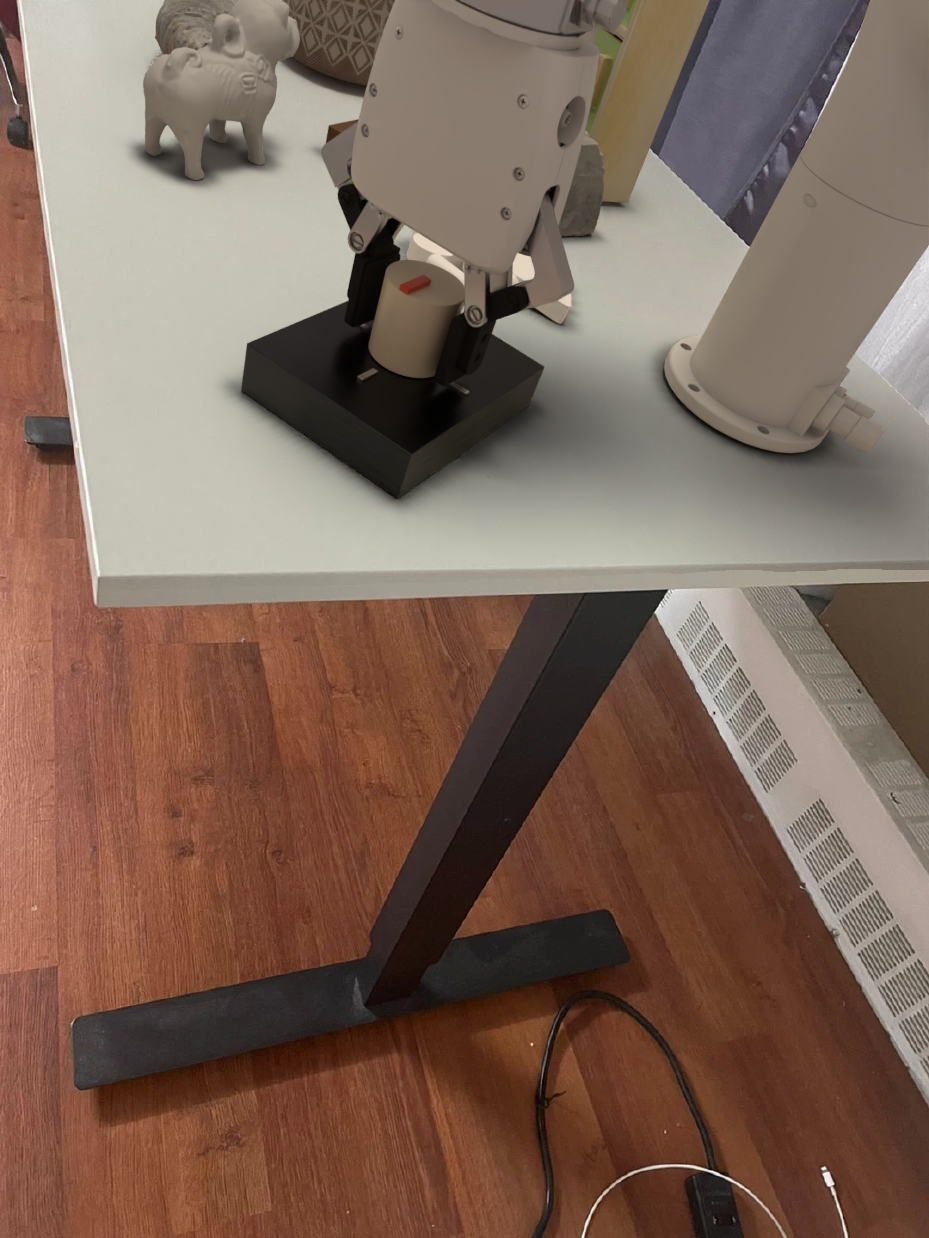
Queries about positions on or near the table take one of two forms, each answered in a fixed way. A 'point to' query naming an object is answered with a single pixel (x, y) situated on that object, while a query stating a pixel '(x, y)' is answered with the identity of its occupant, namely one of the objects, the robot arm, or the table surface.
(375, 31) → the planter
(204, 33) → the seashell
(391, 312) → the knob
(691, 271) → the table surface
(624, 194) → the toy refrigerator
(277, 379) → the panel
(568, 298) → the white abstract figurine
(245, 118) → the dog figurine
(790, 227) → the robot arm
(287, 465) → the table surface
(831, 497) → the table surface
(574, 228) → the mineral specimen
